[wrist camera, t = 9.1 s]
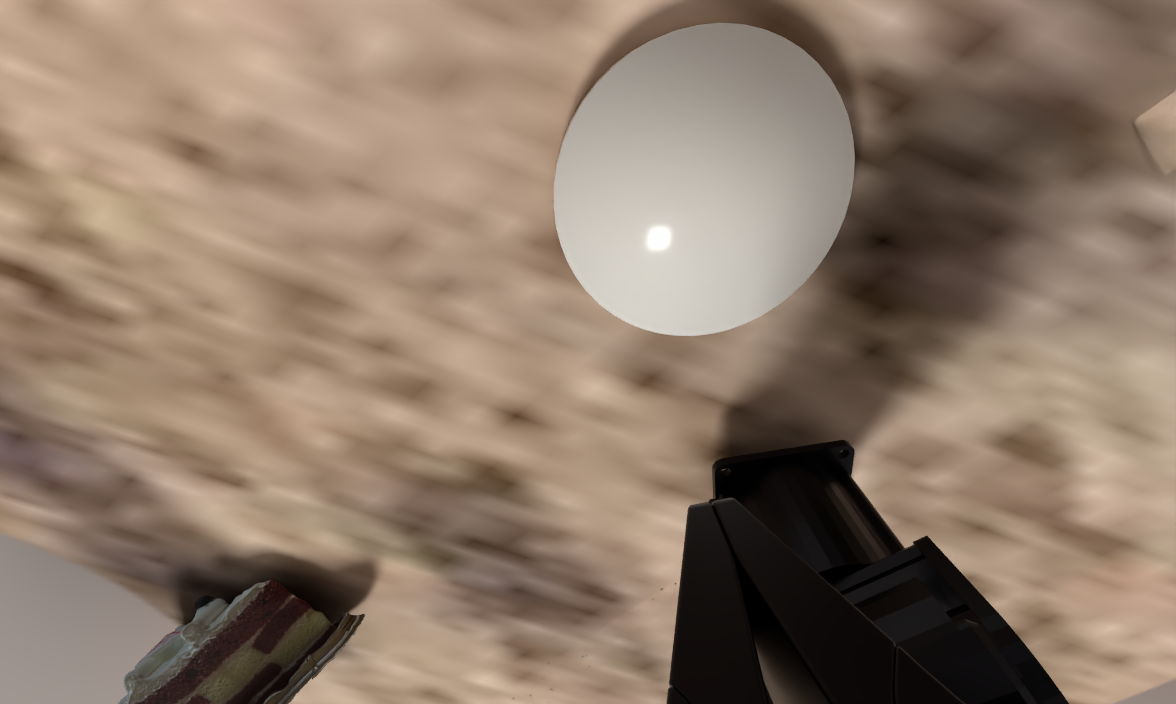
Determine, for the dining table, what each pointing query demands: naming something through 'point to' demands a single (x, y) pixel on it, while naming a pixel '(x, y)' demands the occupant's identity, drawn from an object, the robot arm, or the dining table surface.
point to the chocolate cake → (240, 651)
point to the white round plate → (703, 179)
